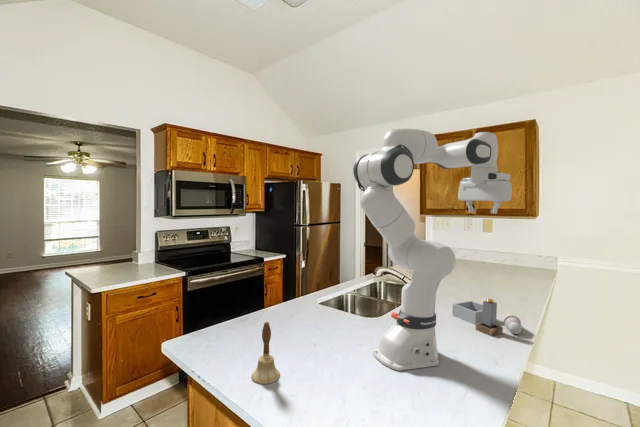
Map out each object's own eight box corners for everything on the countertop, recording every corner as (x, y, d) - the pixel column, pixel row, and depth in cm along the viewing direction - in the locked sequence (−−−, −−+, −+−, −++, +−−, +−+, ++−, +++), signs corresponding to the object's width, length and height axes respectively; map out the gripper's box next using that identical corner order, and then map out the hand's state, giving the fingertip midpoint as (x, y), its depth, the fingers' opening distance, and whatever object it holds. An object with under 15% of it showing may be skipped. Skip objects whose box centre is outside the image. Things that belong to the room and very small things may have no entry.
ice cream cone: (507, 321, 137) (516, 341, 123) (496, 312, 138) (503, 330, 124) (519, 312, 135) (529, 331, 121) (507, 303, 136) (515, 321, 122)
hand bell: (285, 375, 92) (286, 322, 91) (263, 388, 86) (263, 330, 85) (268, 365, 97) (268, 315, 97) (245, 376, 91) (245, 322, 91)
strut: (490, 334, 124) (491, 301, 123) (480, 330, 127) (481, 298, 127) (497, 332, 125) (498, 300, 125) (487, 328, 129) (488, 297, 129)
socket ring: (491, 336, 122) (491, 329, 122) (475, 329, 128) (475, 323, 128) (502, 333, 125) (502, 327, 125) (486, 326, 131) (487, 320, 131)
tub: (475, 324, 133) (475, 312, 133) (452, 315, 144) (452, 303, 144) (493, 320, 138) (494, 308, 138) (470, 311, 149) (470, 300, 149)
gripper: (455, 177, 126) (453, 212, 127) (503, 174, 108) (502, 214, 108) (465, 178, 129) (464, 212, 129) (515, 175, 110) (513, 214, 111)
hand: (482, 213), depth 119 cm, fingers open, 8 cm apart
